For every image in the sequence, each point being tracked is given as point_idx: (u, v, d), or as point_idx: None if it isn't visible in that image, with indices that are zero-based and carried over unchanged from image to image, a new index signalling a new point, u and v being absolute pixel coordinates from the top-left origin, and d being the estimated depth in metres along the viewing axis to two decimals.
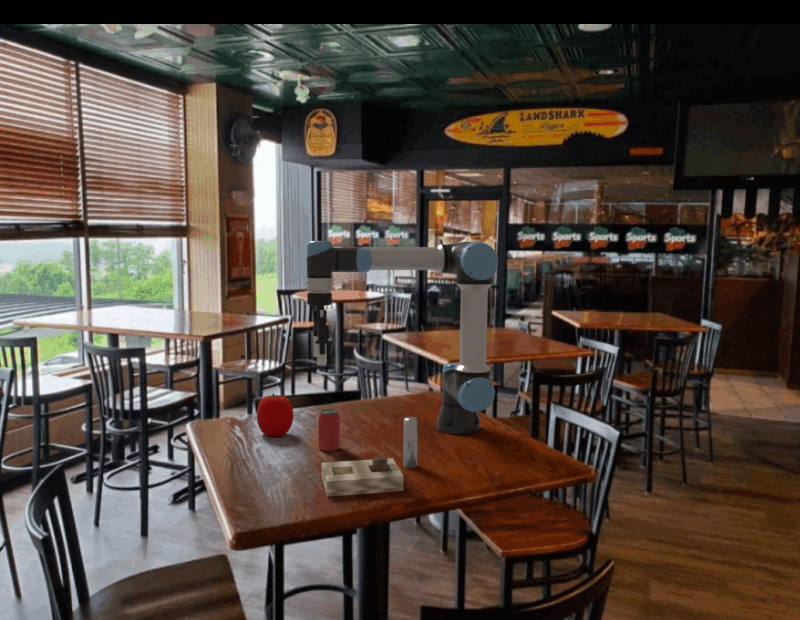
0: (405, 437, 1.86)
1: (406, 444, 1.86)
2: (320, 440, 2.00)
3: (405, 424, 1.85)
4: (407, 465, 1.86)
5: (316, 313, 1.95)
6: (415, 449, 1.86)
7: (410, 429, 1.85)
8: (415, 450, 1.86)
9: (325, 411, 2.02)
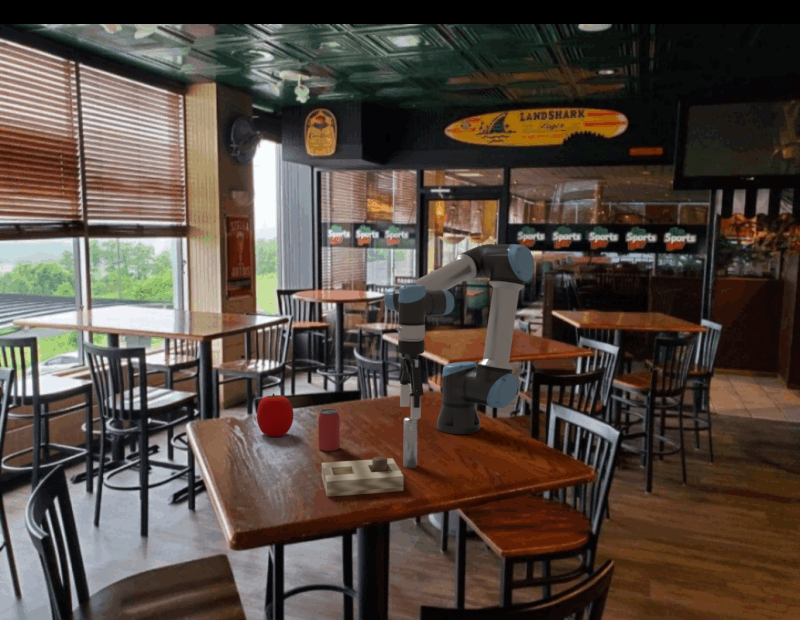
0: (405, 437, 1.86)
1: (406, 444, 1.86)
2: (320, 440, 2.00)
3: (405, 424, 1.85)
4: (407, 465, 1.86)
5: (408, 362, 1.82)
6: (415, 449, 1.86)
7: (410, 429, 1.85)
8: (415, 450, 1.86)
9: (325, 411, 2.02)
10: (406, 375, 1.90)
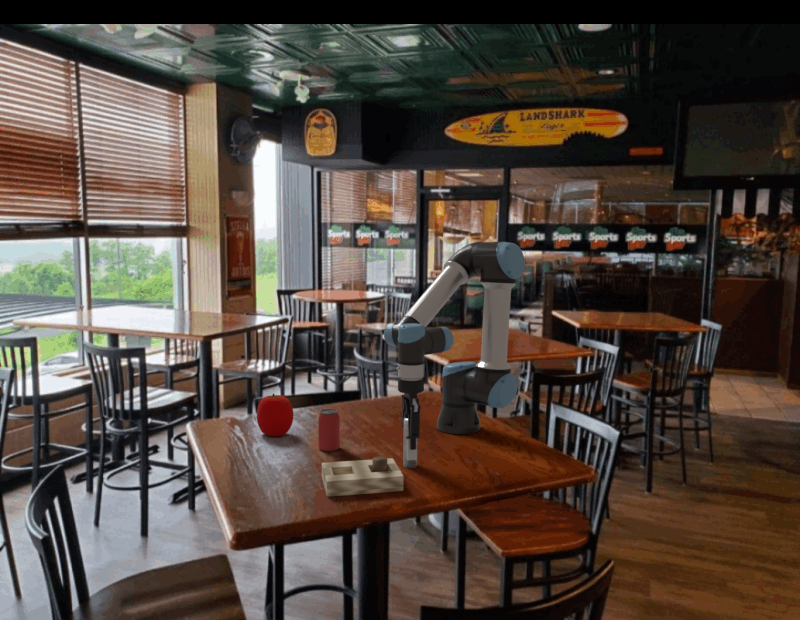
0: (405, 437, 1.86)
1: (406, 444, 1.86)
2: (320, 440, 2.00)
3: (405, 424, 1.85)
4: (407, 465, 1.86)
5: (408, 402, 1.84)
6: None
7: None
8: None
9: (325, 411, 2.02)
10: None
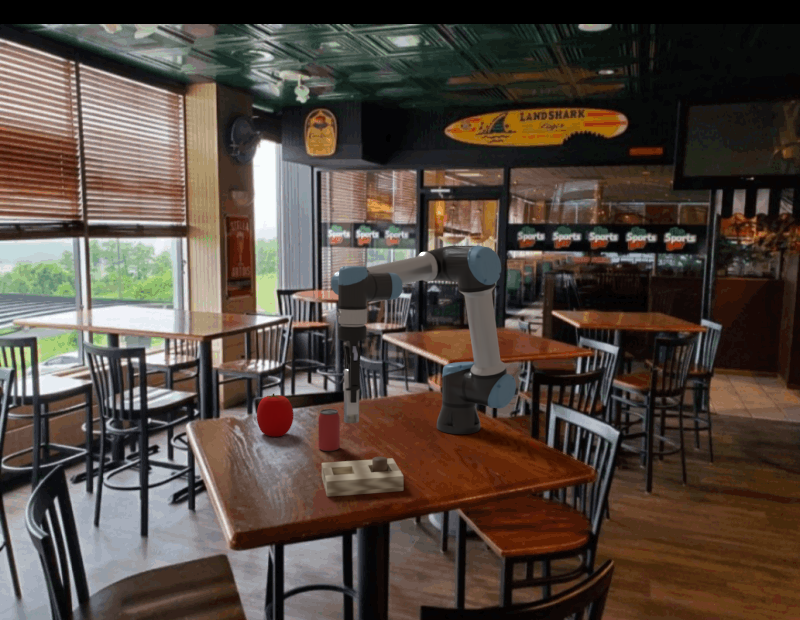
0: (345, 389, 1.70)
1: (346, 397, 1.70)
2: (320, 440, 2.00)
3: (345, 375, 1.70)
4: (347, 420, 1.71)
5: (348, 351, 1.69)
6: None
7: None
8: None
9: (325, 411, 2.02)
10: None
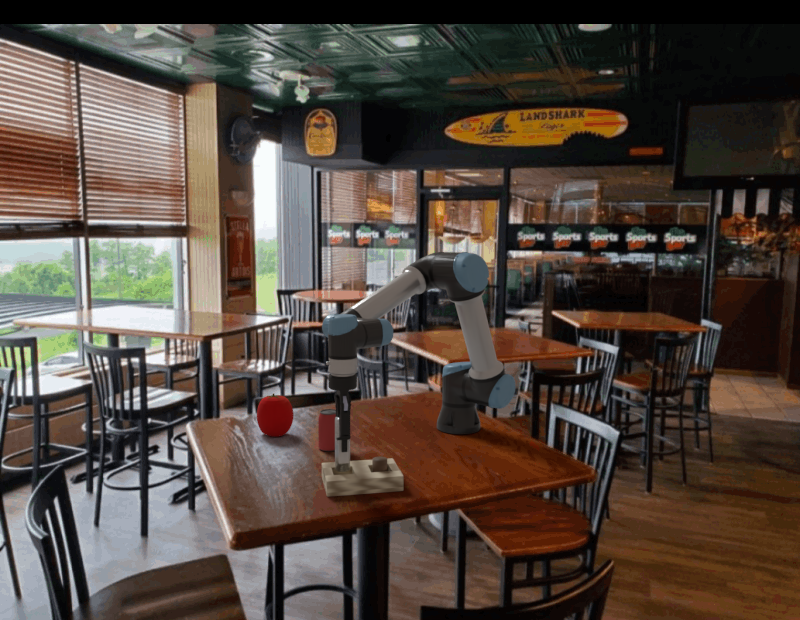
0: (336, 438, 1.70)
1: (337, 446, 1.70)
2: (320, 440, 2.00)
3: (336, 424, 1.70)
4: (338, 469, 1.70)
5: (339, 400, 1.68)
6: None
7: None
8: None
9: (325, 411, 2.02)
10: None
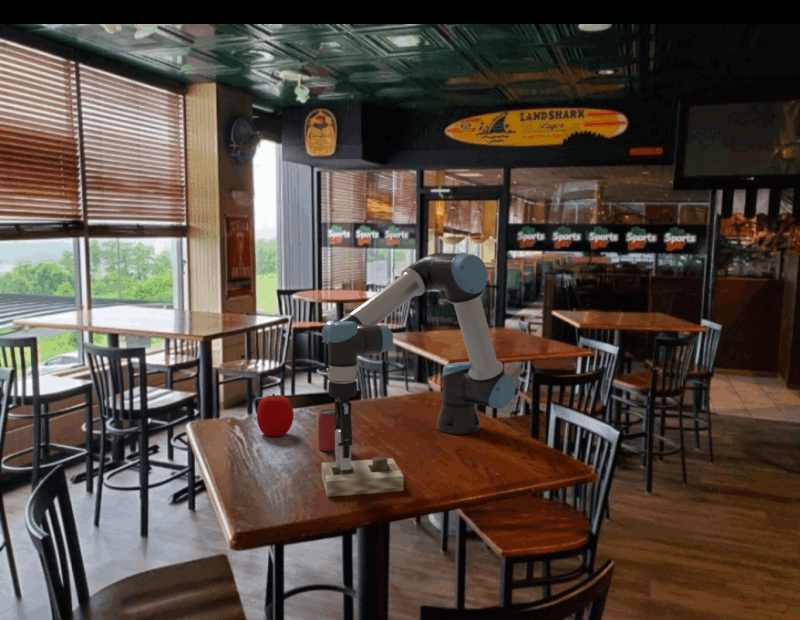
0: (337, 450, 1.70)
1: (338, 458, 1.70)
2: (320, 440, 2.00)
3: (337, 436, 1.70)
4: None
5: (339, 406, 1.68)
6: None
7: None
8: None
9: (325, 411, 2.02)
10: None
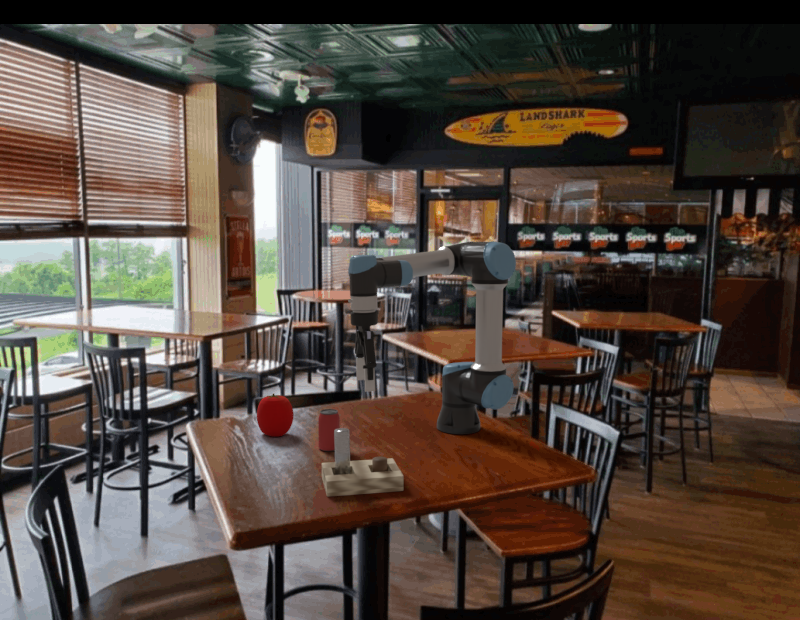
0: (336, 451, 1.70)
1: (337, 458, 1.70)
2: (320, 440, 2.00)
3: (335, 436, 1.70)
4: None
5: (361, 334, 1.78)
6: (347, 464, 1.71)
7: (341, 442, 1.69)
8: (347, 464, 1.71)
9: (325, 411, 2.02)
10: (361, 348, 1.86)
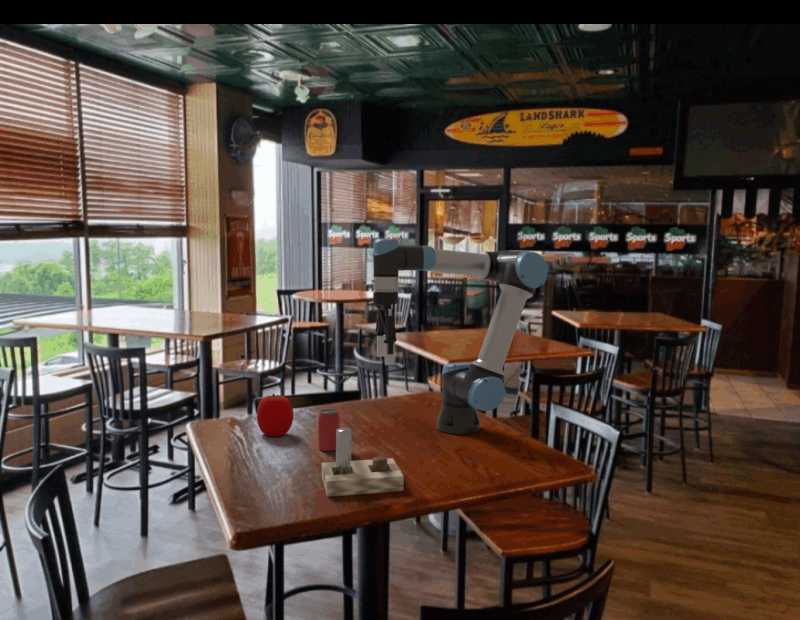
0: (337, 450, 1.71)
1: (338, 458, 1.71)
2: (320, 440, 2.00)
3: (337, 436, 1.70)
4: None
5: (383, 312, 1.93)
6: (348, 464, 1.71)
7: (343, 442, 1.70)
8: (348, 464, 1.71)
9: (325, 411, 2.02)
10: (382, 326, 2.00)
